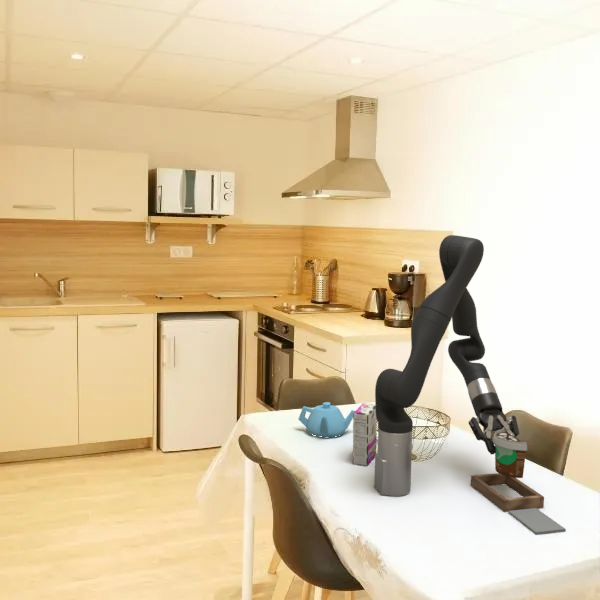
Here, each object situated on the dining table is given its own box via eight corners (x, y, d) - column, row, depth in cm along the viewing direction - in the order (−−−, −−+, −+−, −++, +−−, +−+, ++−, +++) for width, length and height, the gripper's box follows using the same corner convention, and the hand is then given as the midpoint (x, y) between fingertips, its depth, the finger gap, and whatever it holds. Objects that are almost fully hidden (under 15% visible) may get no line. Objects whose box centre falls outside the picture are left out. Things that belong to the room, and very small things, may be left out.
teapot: (329, 423, 240) (329, 395, 239) (357, 434, 228) (357, 404, 227) (296, 431, 231) (296, 401, 230) (323, 442, 219) (323, 411, 218)
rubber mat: (535, 534, 155) (536, 532, 155) (508, 513, 166) (508, 510, 166) (565, 531, 157) (565, 529, 157) (536, 510, 168) (536, 508, 168)
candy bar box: (361, 452, 209) (362, 402, 207) (376, 455, 208) (377, 404, 206) (351, 464, 199) (352, 411, 197) (367, 466, 197) (369, 413, 195)
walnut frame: (503, 512, 167) (504, 500, 167) (470, 485, 184) (470, 475, 183) (543, 508, 170) (544, 496, 169) (506, 482, 186) (507, 472, 186)
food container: (483, 463, 181) (485, 428, 180) (504, 463, 182) (506, 428, 181) (502, 481, 169) (505, 443, 168) (525, 480, 170) (527, 442, 169)
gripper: (466, 391, 182) (485, 447, 172) (512, 390, 186) (534, 444, 176) (456, 405, 188) (474, 460, 178) (500, 403, 191) (521, 457, 181)
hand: (504, 452), depth 177 cm, fingers closed on food container, 5 cm apart
